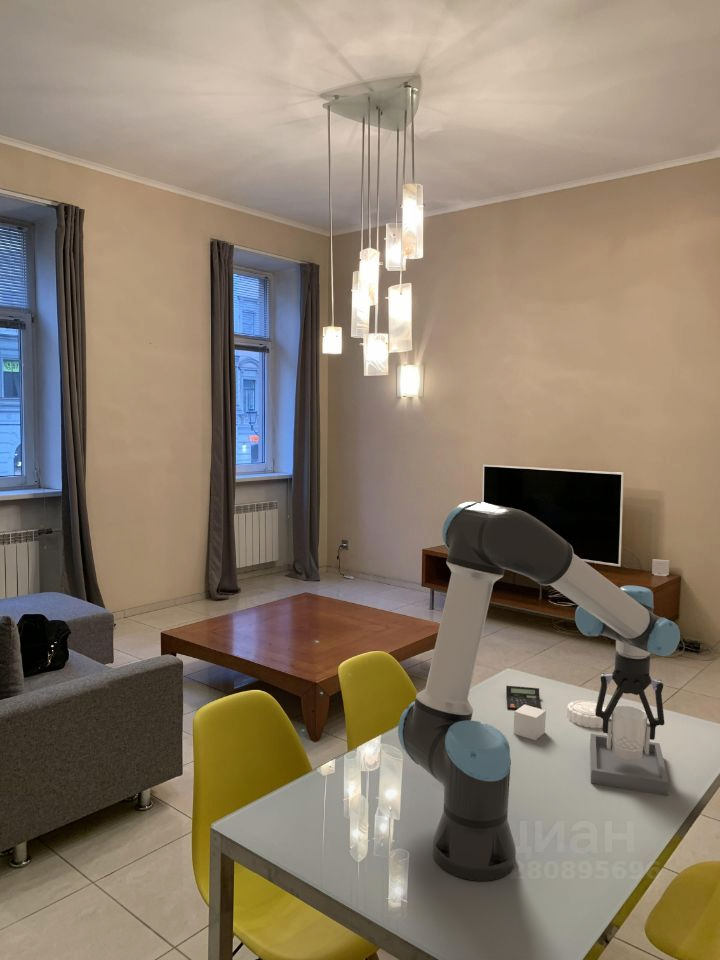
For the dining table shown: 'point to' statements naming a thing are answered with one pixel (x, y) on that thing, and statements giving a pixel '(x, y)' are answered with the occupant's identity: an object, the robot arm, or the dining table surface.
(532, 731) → the white cube
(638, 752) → the white cup
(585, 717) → the mooncake
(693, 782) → the dining table surface
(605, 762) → the tray
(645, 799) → the dining table surface
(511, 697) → the calculator
